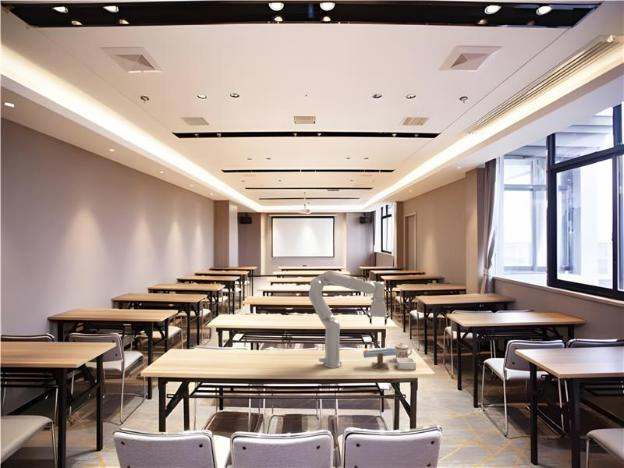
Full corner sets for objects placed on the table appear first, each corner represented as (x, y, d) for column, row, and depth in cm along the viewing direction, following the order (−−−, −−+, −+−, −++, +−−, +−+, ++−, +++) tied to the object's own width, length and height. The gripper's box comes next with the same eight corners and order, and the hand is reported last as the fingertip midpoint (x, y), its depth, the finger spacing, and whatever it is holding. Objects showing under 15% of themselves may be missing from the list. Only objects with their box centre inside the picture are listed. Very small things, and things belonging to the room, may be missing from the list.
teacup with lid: (397, 361, 253) (397, 344, 253) (393, 357, 262) (393, 341, 262) (414, 360, 254) (414, 344, 254) (409, 356, 263) (409, 340, 263)
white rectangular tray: (398, 369, 238) (398, 362, 238) (396, 364, 247) (396, 357, 247) (415, 369, 237) (415, 362, 237) (413, 364, 246) (413, 358, 246)
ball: (365, 355, 243) (363, 351, 243) (365, 354, 247) (363, 349, 247) (370, 354, 243) (368, 349, 243) (369, 352, 246) (368, 348, 246)
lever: (363, 357, 242) (363, 353, 242) (363, 351, 255) (362, 347, 255) (397, 355, 240) (396, 350, 240) (394, 349, 253) (394, 345, 253)
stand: (373, 369, 239) (373, 354, 239) (372, 363, 250) (371, 349, 250) (388, 369, 238) (388, 354, 238) (386, 363, 249) (386, 349, 249)
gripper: (365, 300, 249) (365, 325, 249) (391, 301, 246) (391, 326, 246) (365, 298, 257) (365, 322, 256) (390, 299, 254) (390, 323, 254)
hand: (378, 324), depth 251 cm, fingers open, 9 cm apart
